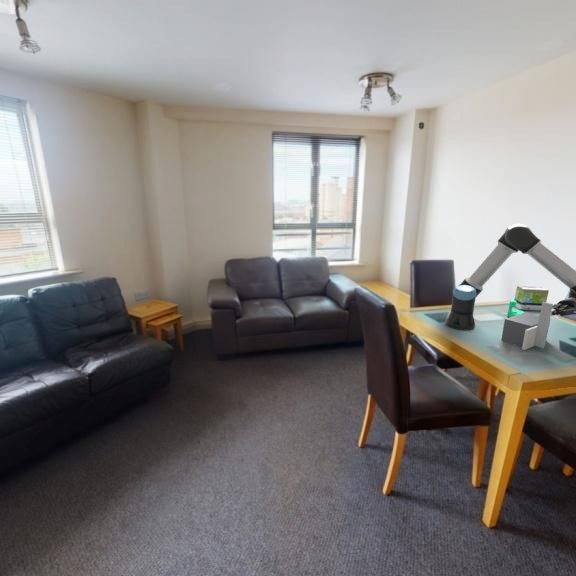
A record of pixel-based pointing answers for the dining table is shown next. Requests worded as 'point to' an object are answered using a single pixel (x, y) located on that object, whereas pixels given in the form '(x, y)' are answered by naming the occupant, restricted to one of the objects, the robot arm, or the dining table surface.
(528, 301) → the tea box
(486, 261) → the robot arm
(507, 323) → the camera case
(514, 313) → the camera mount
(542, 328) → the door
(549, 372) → the dining table surface
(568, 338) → the dining table surface
